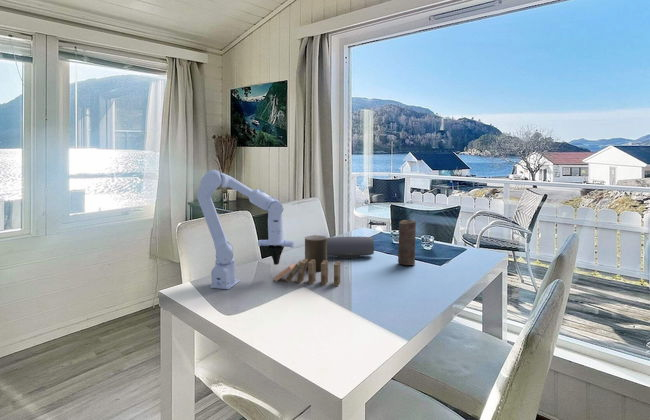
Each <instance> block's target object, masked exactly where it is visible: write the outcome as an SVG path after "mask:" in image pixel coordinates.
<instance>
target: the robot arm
mask: <svg viewBox="0 0 650 420" xmlns="http://www.w3.org/2000/svg"><path fill="white" fill-rule="evenodd" d="M219 186H221V188H230V189H232V190H234V191H237V192H238V193H240V194H242V195H244V196H245V197H248V201H249V202H250V203H251V204H253V205H255V206H257V208H260V209H261V210H263V211H264V210H265V211H267V233H268V239H259V240H257V246H258V247H261V246H263V247H264V246H265V247H266V246H267V247H268V248H267V251H268V252H269V254H270V256H271V258H272V260H273V265H275V266H277V265H279V264H280V260H281V256H282V253H283V250H284V249H285V248H294V247H295V241H290V240H284V225H283V222H284V221H283V220H284V219H283V212H284V206H283V204H282V203H281V202H280V201H279V200H278V199H277V198H275V196H273V195H272V196H270V195H269V194H267V193H265V192H264V190H263V189H261V188H260V189H258V188H256V189H252V188H250V187H248V186H247V185H245V184H244V183H242V182H240V181H239V180H237V179H236V178H234V177H232V176H230V175H229V174H226V173H225V172H221V171H219V170H218V169H210V170H208V171H206V173H205V174H204V175H203V177H202V178H201V180H200V184H199V187H198V191H197V195H196V199H197V200H198V204H199V207H200V209H201V211H202V214H203V217H204V220H205V222H206V225H207V227H208V231H209V232H210V235H211V238H212V241H213V246H214V249H215V265H214V267H213V268H212V269H211V272H210V273H211V274H210V275H211V285H210V289H211V288H212V289H220V290H230V289H232V288H233V287H234V286H235V285H236V284H238V283H239V282H241V280H240V279H237V277H236V259H235V258H234V246H233V245H232V244H231V243H230V242H229V240H228V237H227V236H226V233H225V231H224V229H223V226H222V223H221V220H220V217H219V215H218V212H217V210H216V206H215V204H214V202H213V201H214V200H213V199H212V196H213V194H214V193H215V190H216V189H218V188H219Z"/></svg>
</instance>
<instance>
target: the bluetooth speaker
mask: <svg viewBox="0 0 650 420" xmlns="http://www.w3.org/2000/svg"><path fill="white" fill-rule="evenodd" d="M374 254H375V245H374V237H371V236H334V237H333V236H332V237H327V257H337V258H338V259H359V258H360V257H361V256H362V257H363V256H373V255H374Z"/></svg>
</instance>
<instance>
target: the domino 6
mask: <svg viewBox="0 0 650 420" xmlns="http://www.w3.org/2000/svg"><path fill="white" fill-rule="evenodd" d="M340 284H341V261H340V260H336V261H335V262H334V264H333V287H339V286H340ZM338 285H339V286H338Z"/></svg>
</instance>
